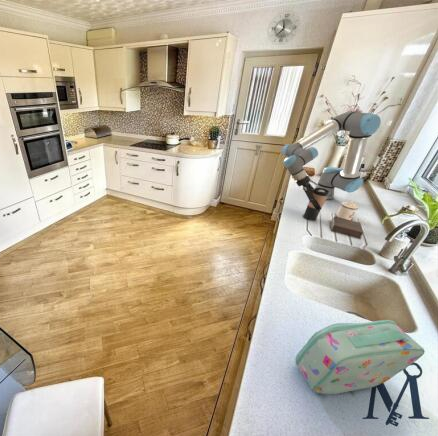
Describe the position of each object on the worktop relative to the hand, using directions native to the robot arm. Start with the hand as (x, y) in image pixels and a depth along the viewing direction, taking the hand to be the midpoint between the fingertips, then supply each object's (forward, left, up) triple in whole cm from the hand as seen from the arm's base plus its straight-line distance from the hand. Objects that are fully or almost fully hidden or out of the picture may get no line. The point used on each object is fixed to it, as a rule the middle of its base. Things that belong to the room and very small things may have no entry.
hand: (319, 205), depth 149 cm
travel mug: (0, -2, -10) cm, 10 cm away
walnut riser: (+4, +17, -9) cm, 20 cm away
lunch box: (+110, +9, -10) cm, 110 cm away
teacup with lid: (-17, +18, -10) cm, 26 cm away
